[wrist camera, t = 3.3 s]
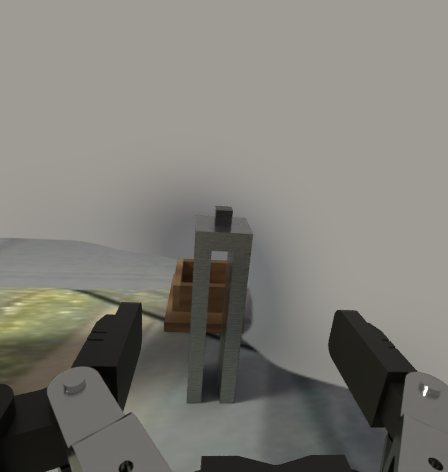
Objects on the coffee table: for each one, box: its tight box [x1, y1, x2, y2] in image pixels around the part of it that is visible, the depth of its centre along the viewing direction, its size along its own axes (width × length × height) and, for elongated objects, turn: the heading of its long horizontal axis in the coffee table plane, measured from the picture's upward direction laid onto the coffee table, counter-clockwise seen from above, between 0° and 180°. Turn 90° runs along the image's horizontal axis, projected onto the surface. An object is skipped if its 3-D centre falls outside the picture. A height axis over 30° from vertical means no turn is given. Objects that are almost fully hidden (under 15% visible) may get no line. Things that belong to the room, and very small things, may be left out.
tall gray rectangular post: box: [187, 206, 253, 403], centre depth 25 cm, size 4×4×17 cm
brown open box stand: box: [164, 259, 244, 333], centre depth 40 cm, size 12×9×5 cm
